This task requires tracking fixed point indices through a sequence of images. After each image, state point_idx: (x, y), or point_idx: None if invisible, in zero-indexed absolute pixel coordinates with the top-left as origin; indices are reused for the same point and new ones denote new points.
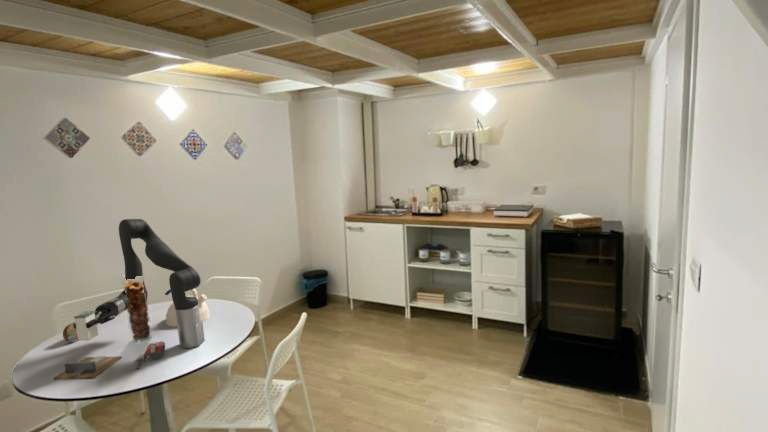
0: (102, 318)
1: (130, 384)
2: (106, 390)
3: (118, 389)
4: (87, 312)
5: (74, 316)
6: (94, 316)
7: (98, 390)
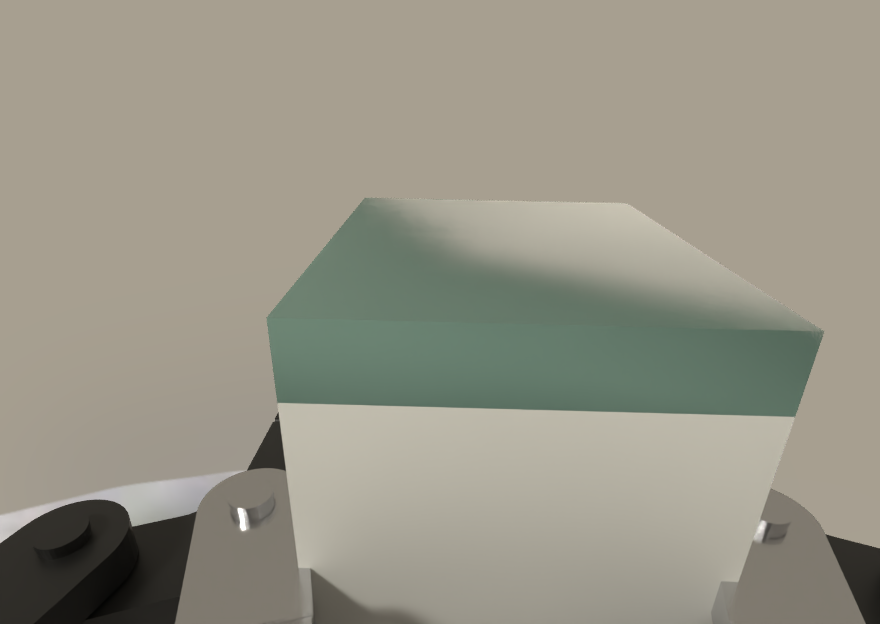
0: (24, 552)
1: (6, 535)
2: (154, 492)
3: (84, 496)
4: (495, 274)
5: (619, 205)
6: (303, 493)
7: (201, 495)
